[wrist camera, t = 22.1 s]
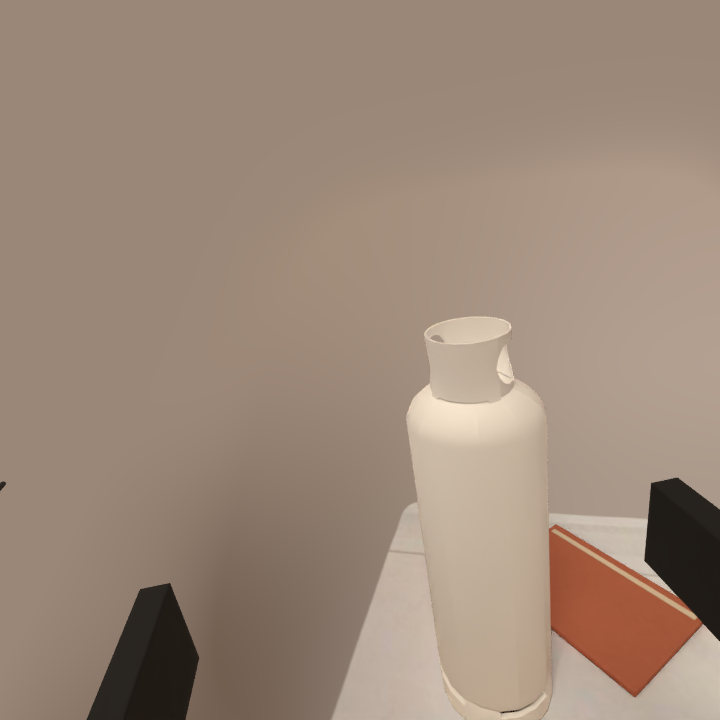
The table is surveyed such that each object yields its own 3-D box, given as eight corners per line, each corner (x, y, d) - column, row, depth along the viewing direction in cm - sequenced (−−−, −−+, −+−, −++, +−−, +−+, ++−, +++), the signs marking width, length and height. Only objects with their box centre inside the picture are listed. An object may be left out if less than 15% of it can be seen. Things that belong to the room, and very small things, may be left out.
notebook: (487, 576, 44) (487, 572, 44) (556, 527, 48) (556, 523, 48) (635, 697, 32) (635, 693, 32) (707, 618, 37) (708, 614, 37)
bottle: (457, 616, 41) (421, 310, 31) (556, 645, 37) (552, 306, 27) (427, 708, 34) (371, 355, 24) (546, 754, 30) (534, 358, 20)
